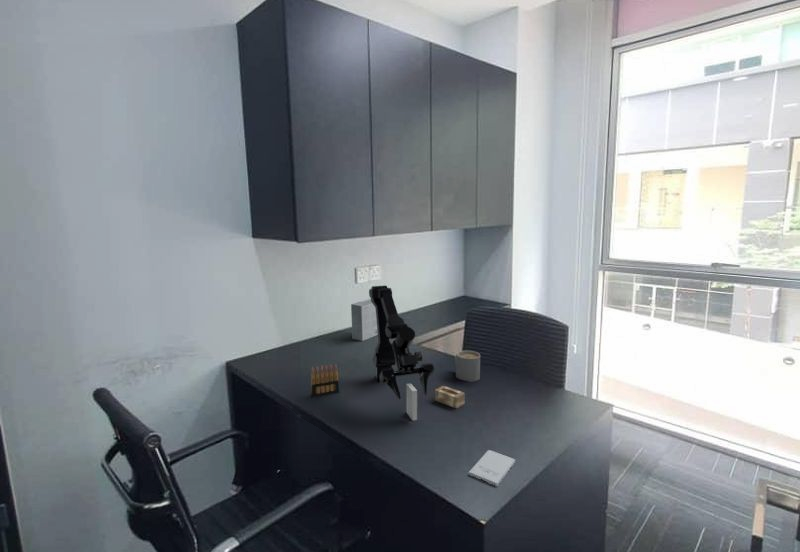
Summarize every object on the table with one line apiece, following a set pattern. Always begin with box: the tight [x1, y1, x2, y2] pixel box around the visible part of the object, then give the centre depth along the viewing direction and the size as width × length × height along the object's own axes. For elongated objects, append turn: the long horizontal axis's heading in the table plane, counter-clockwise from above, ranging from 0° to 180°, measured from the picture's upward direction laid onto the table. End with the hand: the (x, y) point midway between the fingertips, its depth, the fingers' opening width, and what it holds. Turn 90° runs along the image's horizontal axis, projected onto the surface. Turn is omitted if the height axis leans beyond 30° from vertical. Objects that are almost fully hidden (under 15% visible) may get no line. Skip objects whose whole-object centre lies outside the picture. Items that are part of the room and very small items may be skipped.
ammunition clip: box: [310, 362, 340, 398], centre depth 156 cm, size 11×2×12 cm, turn 113°
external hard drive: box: [468, 449, 516, 487], centre depth 111 cm, size 2×8×12 cm
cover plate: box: [406, 383, 418, 421], centre depth 138 cm, size 6×2×11 cm, turn 19°
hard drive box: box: [350, 298, 378, 342], centre depth 227 cm, size 16×8×20 cm, turn 144°
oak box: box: [434, 385, 466, 409], centre depth 149 cm, size 10×5×4 cm, turn 48°
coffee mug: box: [454, 350, 481, 383], centre depth 173 cm, size 13×10×10 cm
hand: (412, 396), depth 137 cm, fingers open, 9 cm apart
